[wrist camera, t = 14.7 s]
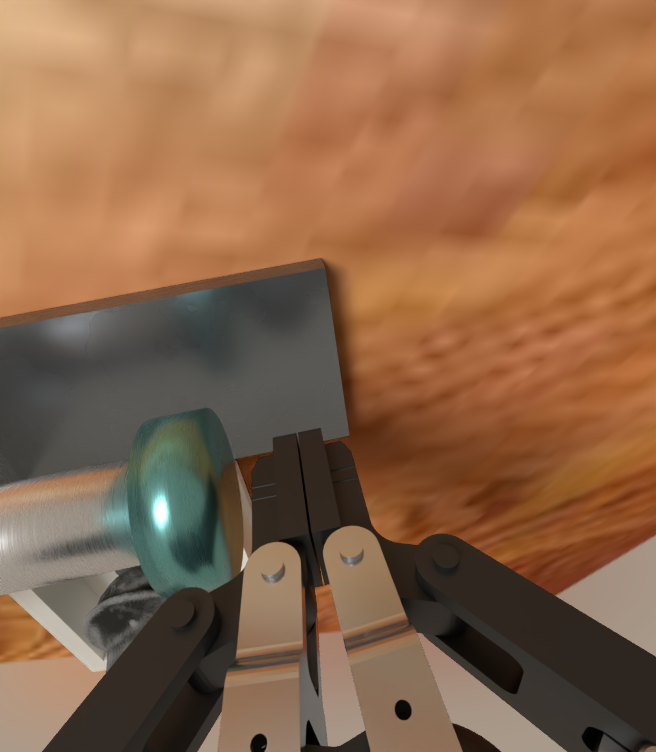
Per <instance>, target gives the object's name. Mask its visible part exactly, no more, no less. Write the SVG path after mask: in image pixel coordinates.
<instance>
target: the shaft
mask: <svg viewBox="0 0 656 752" xmlns="http://www.w3.org/2000/svg"><path fill="white" fill-rule="evenodd" d="M243 548H244V529H243V513H242V503H241V495H240V488H239V482H238V476H237V471H236V466H235V462H234V458H233V454H232V450H231V447H230V444H229V441H228V438H227V435H226V432H225V430H224V427H223V425H222V423H221V421H220V419H219V418H218V416H217V415H216V413H215V412H214V411H213V410H212V409H210V408H202V409H197V410H192V411H187V412H182V413H177V414H172V415H167V416H162V417H157V418H152V419H149V420H147V421H145V422H144V423H143V424H142V425H141V427H140V428H139V430H138V432H137V433H136V436H135V438H134V441H133V445H132V448H131V452H130V458H128V459H123V460H118V461H113V462H108V463H103V464H98V465H93V466H88V467H83V468H78V469H74V470H69V471H64V472H59V473H54V474H49V475H44V476H39V477H34V478H29V479H24V480H19V481H14V482H10V483H5V484H0V595H5V594H9V593H14V592H19V591H23V590H28V589H33V588H37V587H42V586H47V585H51V584H56V583H61V582H65V581H70V580H75V579H79V578H84V577H88V576H93V575H98V574H102V573H107V572H112V571H116V570H121V569H126V568H130V567H135V566H140V565H141V568H142V570H143V572H144V575H145V577H146V579H147V580H148V582H149V584H150V585H151V587H152V588H153V589H154V590H155V592H156V593H158V594H159V595H160V596H161V597H163V598H166V599H168V598H169V597H170V596H171V595H173V594H174V593H176V592H178V591H180V590H182V589H185V588H189V587H198V588H202V589H204V590H206V591H210V590H215V589H216V588H218V587H220V586H222V585H223V584H225V583H227V582H229V581H230V580H232V579H233V578H235V577H236V576H237V575H238V574H239V573H240V572H241V567H242V561H243Z"/></svg>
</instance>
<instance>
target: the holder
mask: <svg viewBox="0 0 656 752" xmlns="http://www.w3.org/2000/svg"><path fill="white" fill-rule="evenodd" d="M234 462H235V466H236V471H237V476H238V482H239V488H240V495H241V503H242V513H243V529H244V548H243V561H242V567H241V571H242V570H243V569H244V567H245V565H246V563H247V561H248V559H249V557H250V556H251V552H252V502H251V499H250V496H249V493H248V491H247V488H246V485H245V483H244V480H243V477H242V474H241V472H240V469H239V466H238V464H237V461H236V460H234ZM118 576H119V575H118V574H116V572H115V571H112V572H107V573H102V574H98V575H93V576H88V577H84V578H79V579H75V580H70V581H65V582H61V583H56V584H51V585H47V586H42V587H37V588H33V589H28V590H23V591H19V592H14V593H9V594H8V595H9V596H10V597H12V598H13V599H14V600H15V601H16V602H17V603H18V604H19V605H20V606H21V607H22V608H24V609H25V610H26V611H27V612H28V613H29V614H30V615H31V616H32V617H33V618H34V619H35V620H37V621H38V622H39V623H40V624H41V625H42V626H43V627H44V628H45V629H46V630H47V631H49V632H50V633H51V634H52V635H53V636H54V637H55V638H56V639H57V640H58V641H59V642H60V643H62V644H63V645H64V646H65V647H66V648H67V649H68V650H69V651H70V652H71V653H72V654H74V655H75V656H76V657H77V658H78V659H79V660H80V661H81V662H82V663H83V664H85V666H87V667H88V668H89V669H90V670H91V671H92V672H98V671H102V670H106V666H107V652H104V651H102V650H100V649H98V648H97V647H95V646H94V645H92V644H91V643H90V641H89V640H88V639H87V638H86V636H85V635H84V629H83V624H84V621H85V619H86V616H87V614H88V613H89V612H90V611H91V610H92V609H93V608H94V607H95V606H96V605H97V604H98V602H99V599H100V597H101V596H102V594H103V593H104V592H105V590H106V589H107V588H108V586H109V585H110V584H111V583H112V582H113V581H114V580H115V579H116V578H117V577H118ZM211 591H213V590H210V591H208V593H209V592H211Z"/></svg>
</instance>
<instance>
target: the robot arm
mask: <svg viewBox="0 0 656 752" xmlns="http://www.w3.org/2000/svg"><path fill="white" fill-rule="evenodd" d="M298 439H299V442H298ZM319 563H320V564H319ZM320 567H321V571H322V575H323V579H324V583H325V585H327V584H330V586H331V591H332V595H333V599H334V603H335V607H336V611H337V615H338V619H339V623H340V628H341V632H342V636H343V640H344V644H345V648H346V652H347V656H348V660H349V665H350V669H351V673H352V676H353V681H354V685H355V689H356V693H357V697H358V701H359V706H360V710H361V714H362V718H363V722H364V726H365V731H364V732H362V733H361V734H359V735H357V736H356V737H354V738H352V739H351V740H349V741H348V742H346V743H344V744H343V745H341V746H337V747H329V746H328V743H327V732H326V722H325V715H324V709H323V702H322V687H321V669H320V651H319V633H318V618H317V603H316V595H315V587H319V586H323V584H322V577H321V571H320ZM417 633H422V634H423V635H424V636H425V637H426V638H427V639H428V640H429V641H430V642H432V643H433V644H434V645H435V646H436V647H438V648H439V649H440V650H441V651H443V652H444V653H445V654H446V655H448V656H449V657H451V659H453V660H454V661H455V662H456V663H458V664H459V665H460V666H462V667H463V668H464V669H465V670H467V671H468V672H469V673H470V674H471V675H473V676H474V677H475V678H476V679H478V680H479V681H480V682H482V683H483V684H484V685H485V686H487V687H488V688H489V689H490V690H491V691H493V692H494V693H495V694H496V695H498V696H499V697H500V698H501V699H502V700H504V701H505V702H506V703H507V704H509V705H510V706H511V707H512V708H514V709H515V710H516V711H517V712H519V713H520V714H521V715H522V716H524V717H525V718H526V719H527V720H529V721H530V722H531V723H532V724H534V725H535V726H536V727H537V728H539V729H540V730H541V731H542V732H544V733H545V734H546V735H548V736H549V737H550V738H551V739H552V740H554V741H555V742H556V743H557V744H559V745H560V746H561V747H562V748H563V749H565V750H566V751H567V752H656V657H655V656H654V655H652V654H650V653H649V652H647V651H645V650H644V649H642V648H640V647H639V646H637V645H635V644H634V643H632V642H631V641H629V640H627V639H626V638H624V637H622V636H620V635H619V634H617V633H616V632H613V631H612V630H611V629H609V628H607V627H606V626H604V625H602V624H601V623H599V622H597V621H596V620H594V619H592V618H591V617H589V616H587V615H586V614H584V613H582V612H581V611H579V610H577V609H576V608H574V607H573V606H571V605H569V604H567V603H566V602H564V601H563V600H561V599H559V598H558V597H556V596H554V595H553V594H551V593H549V592H548V591H546V590H544V589H543V588H541V587H539V586H538V585H536V584H534V583H533V582H531V581H529V580H528V579H526V578H524V577H523V576H521V575H519V574H518V573H516V572H514V571H513V570H511V569H510V568H508V567H506V566H505V565H503V564H501V563H500V562H498V561H496V560H495V559H493V558H491V557H490V556H488V555H486V554H485V553H483V552H481V551H480V550H478V549H476V548H475V547H473V546H471V545H470V544H468V543H466V542H465V541H463V540H461V539H460V538H458V537H455V536H452V535H448V534H435V535H432V536H429V537H427V538H426V539H424V540H423V541H422V542H421V543H420V544H419V545H411V544H401V543H395V542H392V541H389V540H387V539H385V538H384V537H382V536H381V535H380V534H379V533H377V531H376V530H375V529H374V527H373V526H372V524H371V521H370V518H369V514H368V510H367V507H366V503H365V500H364V496H363V492H362V489H361V485H360V482H359V479H358V474H357V471H356V468H355V464H354V460H353V457H352V453H351V451H350V450H349V449H348V448H347V447H346V446H345V445H344V444H343V443H342V441H338V442H334V443H329V444H324V441H323V436H322V431H321V428H317V429H312V430H307V431H302V432H298V438H297V434H296V433H293V434H288V435H283V436H278V437H273V455H271V456H266V457H262V458H258V460H257V462H256V464H255V466H254V468H253V471H252V552H251V556H250V557H249V559H248V561H247V563H246V565H245V567H244V569H243V570H242V571H241V572H240V573H239V574H238V575H237V576H236V577H235V578H233V579H232V580H230V581H229V582H227V583H225V584H223V585H222V586H220V587H218V588H216V589H215V590H213V591H211V592H209V593H208V592H207V591H206V590H204V589H202V588H198V587H189V588H185V589H182V590H180V591H178V592H176V593H174V594H173V595H171V596H170V597H169V598H168V599H167V600H166V601H165V602H164V603H163V604H162V605H161V606H160V608H159V609H158V610H157V611H156V613H155V614H154V615H153V616H152V617H151V619H150V620H149V621H148V622H147V624H146V625H145V626H144V627H143V628H142V630H141V631H140V632H139V633H138V635H137V636H136V637H135V638H134V640H133V641H132V642H131V643H130V644H129V646H128V647H127V648H126V649H125V651H124V652H123V653H122V654H121V655H120V657H119V658H118V659H117V660H116V662H115V663H114V664H113V665H112V667H111V668H110V669H109V670H108V671H107V673H106V674H105V675H104V676H103V678H102V679H101V680H100V681H99V682H98V684H97V685H96V686H95V688H94V689H93V690H92V691H91V692H90V694H89V695H88V696H87V697H86V699H85V700H84V701H83V702H82V703H81V705H80V706H79V707H78V708H77V710H76V711H75V712H74V713H73V714H72V716H71V717H70V718H69V719H68V721H67V722H66V723H65V724H64V725H63V727H62V728H61V729H60V730H59V732H58V733H57V734H56V735H55V736H54V738H53V739H52V740H51V741H50V743H49V744H48V745H47V746H46V748H45V749H44V750H43V751H42V752H197V751H198V750H199V748H200V746H201V745H202V743H203V742H204V740H205V738H206V736H207V735H208V733H209V732H210V730H211V728H212V727H213V725H214V723H215V722H216V720H217V718H218V716H219V715H220V713H221V712H222V714H221V722H220V732H219V741H218V752H501V751H500V750H499V749H497V748H496V747H495V746H494V745H493V744H491V743H490V742H489V741H487V740H486V739H484V738H483V737H482V736H480V735H478V734H476V733H475V732H473V731H471V730H469V729H467V728H465V727H462V726H460V725H457V724H453V723H452V722H451V720H450V717H449V715H448V712H447V709H446V707H445V704H444V702H443V699H442V696H441V694H440V691H439V689H438V686H437V683H436V681H435V678H434V675H433V673H432V671H431V668H430V665H429V662H428V660H427V657H426V655H425V652H424V649H423V647H422V644H421V642H420V639H419V637H418V634H417Z"/></svg>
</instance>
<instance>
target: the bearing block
mask: <svg viewBox="0 0 656 752" xmlns="http://www.w3.org/2000/svg"><path fill="white" fill-rule="evenodd" d="M202 408H210V409H212V410H213V411H214V412H215V413H216V415H217V416H218V418H219V419H220V421H221V423H222V425H223V427H224V430H225V432H226V435H227V438H228V441H229V444H230V447H231V450H232V454H233V458H234V459H238V458H243V457H248V456H253V455H258V454H262V453H267V452H272V451H273V437H278V436H283V435H288V434H293V433H296V434H297V438H298V432H302V431H307V430H312V429H317V428H321V431H322V436H323V441H326V440H331V439H335V438H340V437H345V436H350V435H349V428H348V422H347V415H346V408H345V401H344V394H343V387H342V380H341V373H340V366H339V360H338V353H337V346H336V339H335V332H334V325H333V318H332V311H331V304H330V298H329V291H328V284H327V277H326V270H325V266H324V264H323V261H322V259H321V258H319V259H314V260H309V261H303V262H298V263H293V264H287V265H282V266H276V267H271V268H266V269H260V270H255V271H250V272H244V273H239V274H233V275H228V276H223V277H217V278H212V279H207V280H201V281H196V282H190V283H185V284H180V285H174V286H169V287H164V288H158V289H153V290H147V291H142V292H137V293H131V294H126V295H120V296H115V297H110V298H104V299H99V300H94V301H88V302H83V303H77V304H72V305H67V306H61V307H56V308H51V309H45V310H40V311H34V312H29V313H24V314H18V315H13V316H8V317H2V318H0V484H5V483H10V482H14V481H19V480H24V479H29V478H34V477H39V476H44V475H49V474H54V473H59V472H64V471H69V470H74V469H78V468H83V467H88V466H93V465H98V464H103V463H108V462H113V461H118V460H123V459H128V458H130V452H131V448H132V445H133V441H134V438H135V436H136V433H137V432H138V430H139V428H140V427H141V425H142V424H143V423H144V422H145V421H147V420H149V419H152V418H157V417H162V416H167V415H172V414H177V413H182V412H187V411H192V410H197V409H202ZM298 442H299V439H298Z"/></svg>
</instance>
